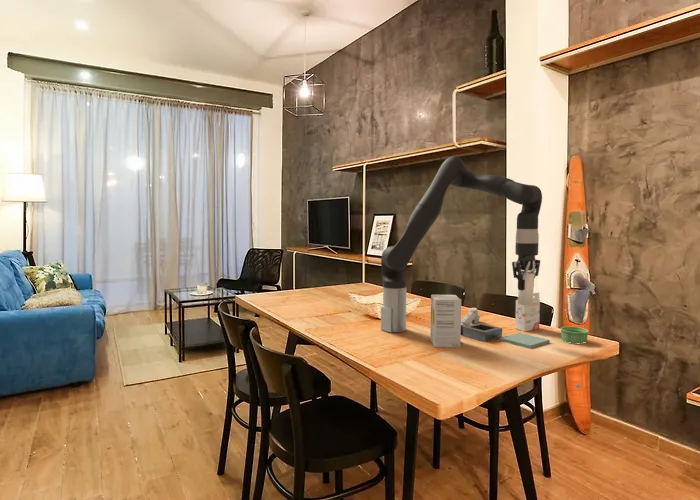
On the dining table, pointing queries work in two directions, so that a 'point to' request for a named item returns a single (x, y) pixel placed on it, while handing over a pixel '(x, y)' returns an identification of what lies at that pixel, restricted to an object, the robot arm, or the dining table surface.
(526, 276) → the end plug
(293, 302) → the dining table surface
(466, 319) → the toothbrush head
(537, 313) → the ink cartridge box
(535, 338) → the mat
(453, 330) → the supplement box
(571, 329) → the ramekin
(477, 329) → the socket block
